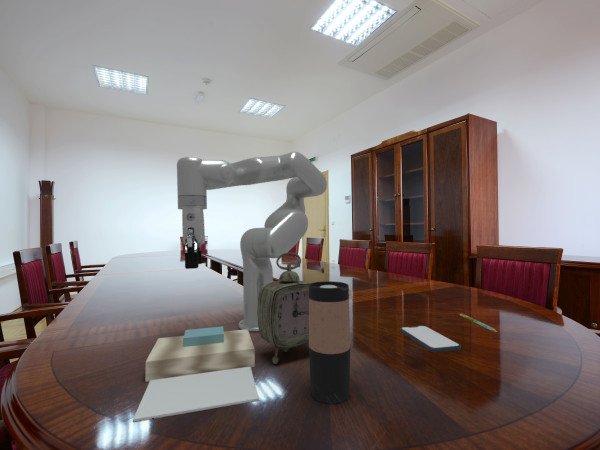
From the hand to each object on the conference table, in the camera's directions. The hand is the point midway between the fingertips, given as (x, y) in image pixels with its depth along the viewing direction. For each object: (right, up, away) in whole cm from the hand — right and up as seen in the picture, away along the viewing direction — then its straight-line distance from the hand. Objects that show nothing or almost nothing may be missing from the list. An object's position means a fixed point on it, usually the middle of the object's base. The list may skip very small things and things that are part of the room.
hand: (193, 266), depth 79 cm
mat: (+10, -20, -24) cm, 33 cm away
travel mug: (+35, -20, -26) cm, 47 cm away
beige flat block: (+6, -21, -11) cm, 24 cm away
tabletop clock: (+26, -21, -8) cm, 35 cm away
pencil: (+87, -21, +15) cm, 90 cm away
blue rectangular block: (+6, -17, -9) cm, 20 cm away
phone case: (+64, -21, +1) cm, 68 cm away
